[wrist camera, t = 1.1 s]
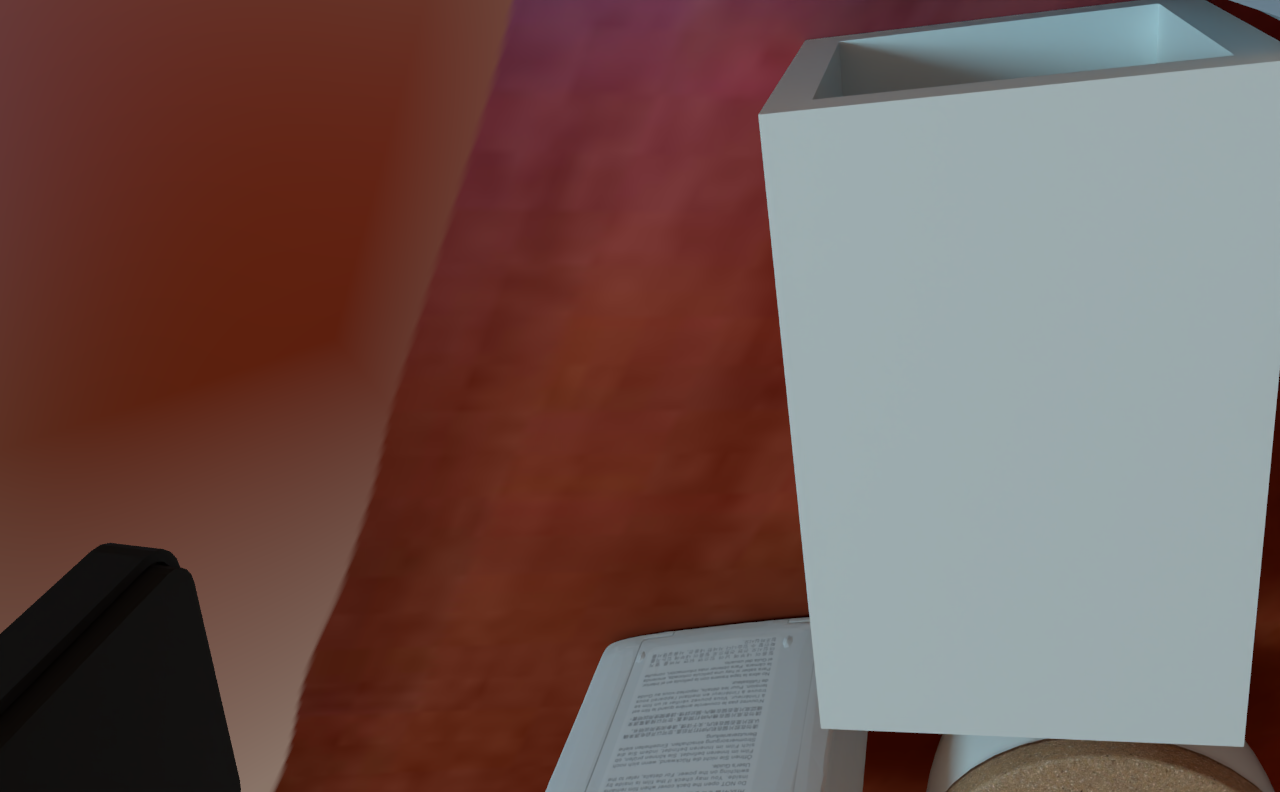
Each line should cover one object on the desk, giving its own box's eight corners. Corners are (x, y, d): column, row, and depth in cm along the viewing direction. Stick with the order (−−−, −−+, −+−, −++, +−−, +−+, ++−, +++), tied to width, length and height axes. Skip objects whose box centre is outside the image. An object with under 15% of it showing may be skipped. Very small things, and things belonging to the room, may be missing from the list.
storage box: (1194, -7, 29) (1309, 58, 20) (1166, 524, 35) (1243, 746, 27) (805, 40, 32) (758, 114, 23) (845, 525, 38) (821, 728, 29)
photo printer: (625, 720, 44) (527, 1004, 33) (590, 632, 43) (476, 899, 32) (885, 695, 41) (870, 1002, 30) (858, 599, 39) (832, 885, 28)
